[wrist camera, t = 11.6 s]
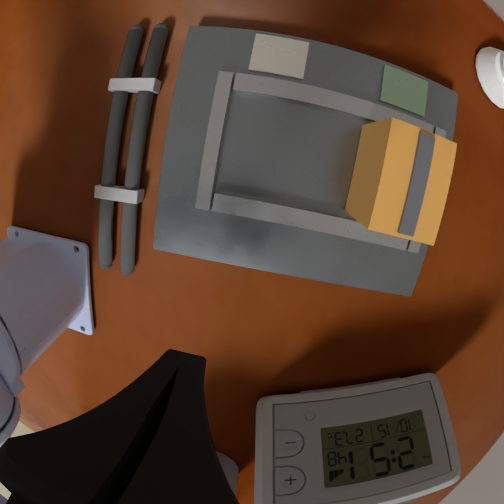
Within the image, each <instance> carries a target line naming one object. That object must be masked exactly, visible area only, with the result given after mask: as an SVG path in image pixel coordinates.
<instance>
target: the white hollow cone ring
mask: <svg viewBox="0 0 504 504" xmlns="http://www.w3.org/2000/svg"><path fill="white" fill-rule="evenodd" d="M475 66H476V71H477V76H478V79H479V81H480V83H481V86H482V88H483V90H484V92H485V93H486V94H487V96H488V97H489V99H490V100H491V101H492V102H493V103H494V104H496V105H497V106H498V107H499V108H503V109H504V51H502V50H499V49H496V48H493V47H486V48H482V49H480V51H479V52H478V54H477V55H476V65H475Z"/></svg>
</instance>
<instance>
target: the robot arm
mask: <svg viewBox="0 0 504 504" xmlns="http://www.w3.org/2000/svg"><path fill="white" fill-rule="evenodd" d="M76 246H77V247H78V249H79V251H78V250H77V248H76ZM67 327H68V328H71V329H74V330H76V331H79V332H82V333H85V334H87V335H92V334H93V333H94V322H93V312H92V301H91V287H90V266H89V247H88V245H87V244H86V243H83V242H79V241H74V240H70V239H66V238H61V237H57V236H53V235H49V234H45V233H40V232H36V231H32V230H28V229H24V228H20V227H16V226H9V227H8V228H7V238H6V239H4V240H2V241H0V446H1V445H2V446H1V447H0V482H1V483H2V484H3V485H4V486H5V487H6V488H7V489H8V490H9V491H10V492H11V493H12V494H11V496H10V497H9V499H8V500H7V499H6V498H4V497H3V496H2V495H1V494H0V504H239V502H238V500H237V498H236V497H235V495H234V493H233V491H232V489H231V487H230V485H229V483H228V480H227V478H226V476H225V473H224V471H223V469H222V466H221V464H220V461H219V459H218V456H217V453H216V450H215V447H214V443H213V440H212V437H211V433H210V429H209V424H208V419H207V414H206V408H205V400H204V389H203V383H204V375H205V367H206V359H205V358H204V357H203V356H198V355H194V354H189V353H185V352H181V351H177V350H172V349H169V350H167V351H166V352H165V353H164V354H163V355H162V356H161V357H160V358H159V359H158V360H157V361H156V362H155V363H154V364H153V365H152V366H151V367H150V368H149V369H147V370H146V371H145V372H144V373H143V374H142V375H140V376H139V377H138V378H137V379H136V380H135V381H133V382H132V383H131V384H130V385H128V386H127V387H126V388H124V389H123V390H121V391H120V392H119V393H117V394H116V395H115V396H113V397H112V398H110V399H109V400H107V401H106V402H104V403H102V404H101V405H99V406H97V407H96V408H94V409H92V410H90V411H88V412H86V413H84V414H82V415H80V416H78V417H76V418H74V419H72V420H70V421H67V422H65V423H62V424H59V425H57V426H54V427H51V428H48V429H45V430H42V431H39V432H35V433H31V434H26V435H22V436H17V437H12V438H10V437H11V435H12V434H13V432H14V430H15V428H16V426H17V424H18V421H19V418H20V412H21V407H20V402H19V399H18V397H17V395H18V394H19V393H20V392H21V390H22V389H23V388H24V387H25V386H24V384H23V382H22V379H21V375H22V374H23V373H24V372H25V371H26V370H27V369H28V368H29V367H30V365H31V364H32V363H33V362H34V361H35V360H36V359H37V358H38V357H39V356H40V355H41V354H42V353H43V352H44V351H45V350H46V349H47V348H48V346H49V345H50V344H51V343H52V342H53V341H54V340H55V339H56V338H57V337H58V336H59V335H60V334H61V333H62V332H63V331H64V330H65V329H66V328H67Z"/></svg>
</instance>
